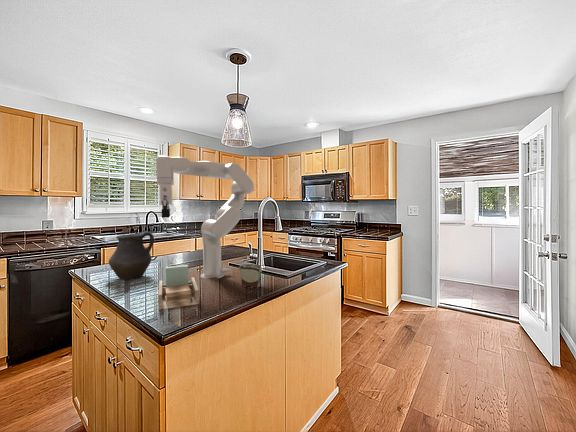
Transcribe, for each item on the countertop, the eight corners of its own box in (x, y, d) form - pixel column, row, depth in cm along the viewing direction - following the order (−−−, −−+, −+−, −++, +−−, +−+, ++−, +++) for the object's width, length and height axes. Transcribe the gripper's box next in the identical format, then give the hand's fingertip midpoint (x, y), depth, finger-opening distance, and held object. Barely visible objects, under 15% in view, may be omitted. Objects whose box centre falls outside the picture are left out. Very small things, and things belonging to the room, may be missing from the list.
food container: (266, 285, 140) (266, 265, 139) (260, 288, 134) (260, 268, 134) (245, 282, 145) (245, 262, 145) (239, 285, 140) (238, 265, 139)
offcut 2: (190, 292, 120) (190, 288, 120) (191, 297, 113) (191, 294, 113) (167, 295, 116) (167, 291, 116) (166, 300, 110) (166, 296, 110)
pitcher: (110, 275, 158) (109, 231, 156) (153, 270, 168) (152, 229, 167) (108, 285, 140) (106, 235, 138) (156, 279, 150) (155, 232, 149)
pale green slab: (188, 291, 126) (187, 264, 125) (188, 293, 124) (188, 266, 123) (166, 294, 122) (165, 266, 122) (166, 296, 120) (165, 268, 119)
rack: (194, 292, 130) (193, 277, 129) (199, 307, 111) (198, 290, 111) (159, 296, 124) (159, 280, 123) (159, 313, 106) (158, 295, 105)
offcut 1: (188, 289, 119) (188, 285, 119) (190, 294, 113) (190, 290, 113) (165, 292, 115) (165, 288, 115) (166, 297, 109) (166, 293, 109)
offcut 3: (188, 296, 120) (188, 292, 119) (190, 301, 113) (190, 297, 113) (165, 299, 116) (165, 295, 115) (166, 305, 109) (166, 301, 109)
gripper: (173, 181, 131) (173, 217, 132) (174, 183, 147) (174, 215, 148) (155, 180, 128) (156, 218, 129) (158, 182, 144) (159, 216, 145)
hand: (166, 216), depth 138 cm, fingers open, 9 cm apart
